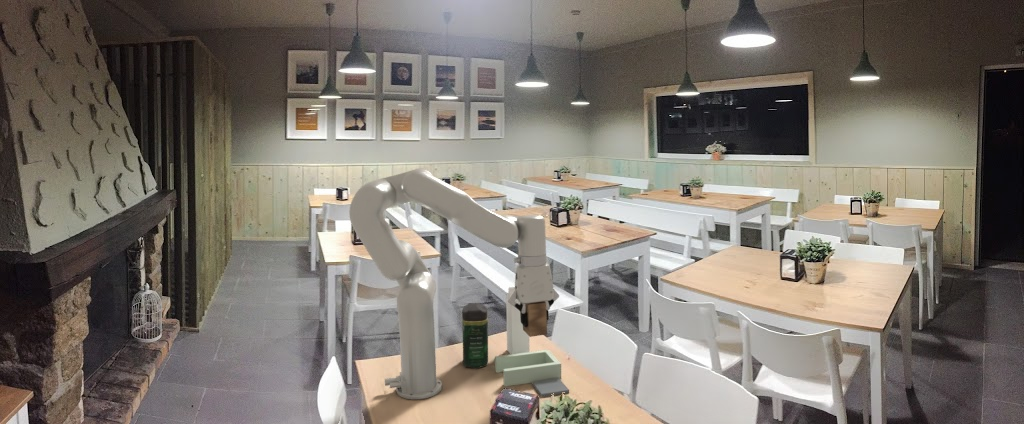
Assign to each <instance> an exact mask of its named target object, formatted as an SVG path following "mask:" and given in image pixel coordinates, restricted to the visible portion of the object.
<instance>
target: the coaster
mask: <svg viewBox="0 0 1024 424" xmlns="http://www.w3.org/2000/svg"><path fill="white" fill-rule="evenodd" d="M531 384H532V386H533V387H534V389H535V390H536V392H537V393H538V395H539V396H540V397H541V398H543V397H549V396H552V395H551V394H553V393H554V394H557V395H562V394H561V393H562V392H565V393H564V394H569V393H570V389H569V388H568V387H567V386H566V384H565V383H564V382H563V380H561V378H560V379H559V378H553V379H546V380H539V381H532V383H531Z"/></svg>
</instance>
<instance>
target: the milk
mask: <svg viewBox="0 0 1024 424" xmlns="http://www.w3.org/2000/svg"><path fill="white" fill-rule="evenodd" d="M507 290H508V292H507V293H506V294H505V295H506V296H505V297H506V303H505V304H506V305H505V307H506V350H507V352H508V354H509V355H510V354H518V353H526V352H531V351H530V336H529V335H528V334H527V333H526V332H525V331H524V330H523V324H522V323H521V318H520V311H519V310H518V309H517V308H516V307H514V306H513V305H511V304H510V303H509V302H508V300H509V298H510V297H511V295H512V294H513V292H514V291H515V286H511V287H508V289H507ZM515 302H516V303H518V304H519V305H520V302H519V301H518V300H517V299H516V300H515Z"/></svg>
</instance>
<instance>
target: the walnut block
mask: <svg viewBox="0 0 1024 424" xmlns="http://www.w3.org/2000/svg"><path fill="white" fill-rule="evenodd" d="M526 313H527V315H528V327H525V326H524V325H523V330H524V331H525V332H526V333H527V334H528V335H529V338H532V337H538V336H547V335H548V320H547V314H546V302H545V301H544V302H537V303H529V304H527V308H526Z"/></svg>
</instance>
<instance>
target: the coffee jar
mask: <svg viewBox="0 0 1024 424" xmlns="http://www.w3.org/2000/svg"><path fill="white" fill-rule="evenodd" d="M461 312H462V313H461V314H462V316H461V317H462V318H461V321H462V363H463V366H464V367H466V368H471V369H479V368H482V367H486V366H487V365H488V363H489V321H488V319H489V318H488V317H489V316H488V308H487V306H485V305H484V304H482V303H481V302H469V303H467V304H466V305H465V306H463V307H462V311H461Z"/></svg>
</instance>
